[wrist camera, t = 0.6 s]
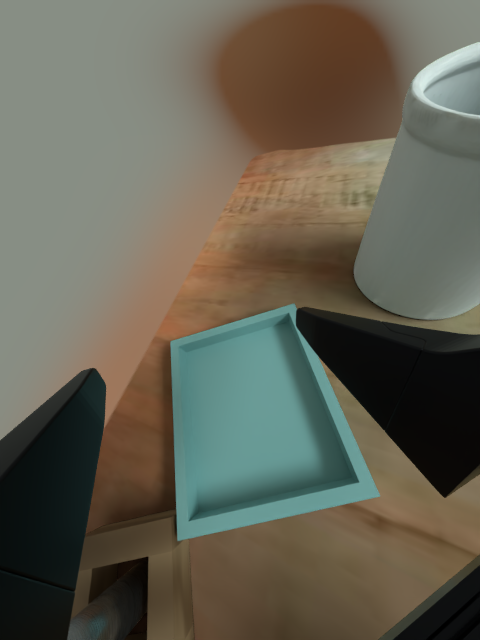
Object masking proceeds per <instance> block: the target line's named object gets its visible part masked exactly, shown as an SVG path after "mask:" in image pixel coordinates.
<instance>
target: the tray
mask: <svg viewBox="0 0 480 640" xmlns="http://www.w3.org/2000/svg"><path fill="white" fill-rule="evenodd" d="M296 310H297V308H296V306H295V304H291V305H288V306H284V307H281V308H278V309H275V310H271V311H268V312H265V313H261V314H258V315H255V316H252V317H248V318H245V319H242V320H239V321H235V322H232V323H229V324H226V325H222V326H219V327H216V328H213V329H209V330H206V331H203V332H200V333H196V334H193V335H190V336H187V337H183V338H180V339H177V340H173V341H171V369H172V398H173V426H174V455H175V483H176V511H177V540H178V541H180V540H185V539H189V538H194V537H198V536H203V535H207V534H212V533H216V532H221V531H225V530H230V529H235V528H239V527H244V526H248V525H253V524H257V523H262V522H266V521H271V520H275V519H280V518H284V517H289V516H293V515H298V514H303V513H307V512H312V511H316V510H321V509H325V508H330V507H334V506H339V505H343V504H348V503H352V502H357V501H361V500H366V499H371V498H375V497H380V495H379V492H378V490H377V488H376V486H375V483H374V481H373V479H372V477H371V474H370V472H369V470H368V468H367V465H366V463H365V461H364V459H363V456H362V454H361V452H360V450H359V447H358V445H357V443H356V441H355V438H354V436H353V434H352V432H351V429H350V427H349V425H348V423H347V421H346V418H345V416H344V414H343V412H342V409H341V407H340V405H339V403H338V400H337V398H336V396H335V394H334V391H333V389H332V387H331V385H330V382H329V380H328V378H327V376H326V373H325V371H324V369H323V367H322V364H321V362H320V360H319V358H318V356H317V354H316V353H315V352H314V351H313V349H312V348H311V347H310V345H309V344H308V343H307V341H306V340H305V338H304V337H303V336H302V334H301V333H300V331H299V330H298V329H297V327H296Z"/></svg>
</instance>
